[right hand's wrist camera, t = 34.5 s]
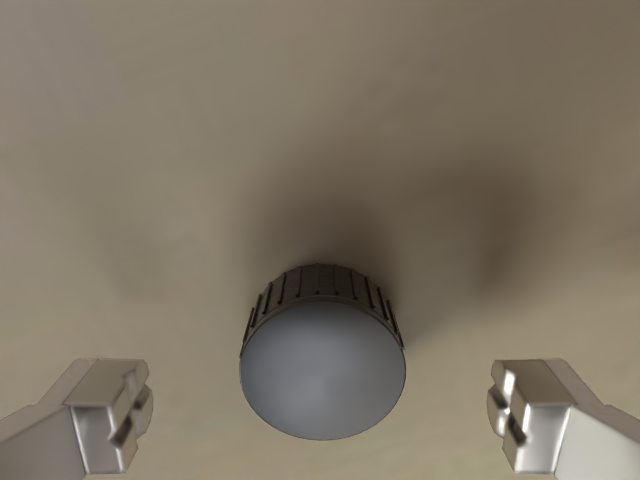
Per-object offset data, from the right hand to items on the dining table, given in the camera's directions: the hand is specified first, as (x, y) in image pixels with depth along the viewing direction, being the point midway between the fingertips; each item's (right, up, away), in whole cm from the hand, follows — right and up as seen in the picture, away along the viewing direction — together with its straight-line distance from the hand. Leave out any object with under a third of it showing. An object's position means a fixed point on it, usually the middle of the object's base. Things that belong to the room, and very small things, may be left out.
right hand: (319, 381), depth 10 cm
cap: (0, 0, 0) cm, 0 cm away
